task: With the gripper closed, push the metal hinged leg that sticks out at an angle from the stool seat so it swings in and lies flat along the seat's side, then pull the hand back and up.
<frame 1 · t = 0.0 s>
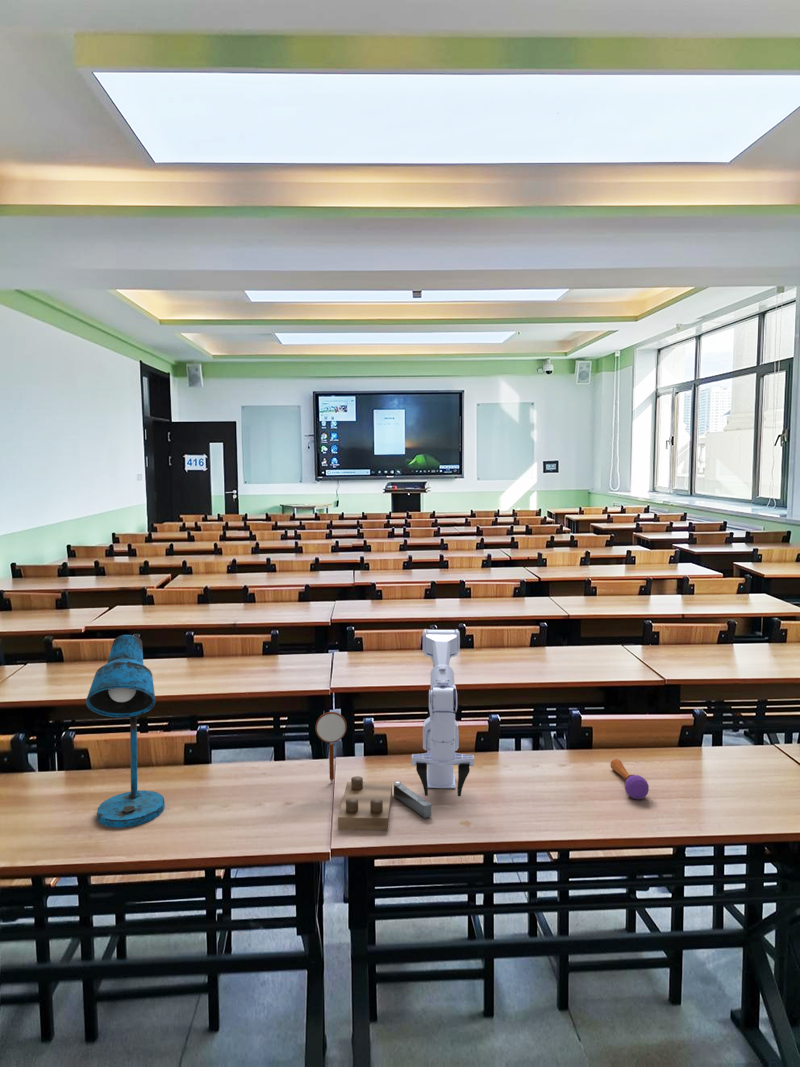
hand: (442, 794, 163), 10 cm above the table, tool pointing down, fingers open, 7 cm apart
stool seat: (366, 810, 176), on the table
purple mallet: (627, 786, 190), on the table
hinged leg: (411, 798, 178), point 2 cm above the table, hinge at 35.0°
desk lamp: (130, 816, 174), on the table
magnifying glass: (331, 783, 192), on the table
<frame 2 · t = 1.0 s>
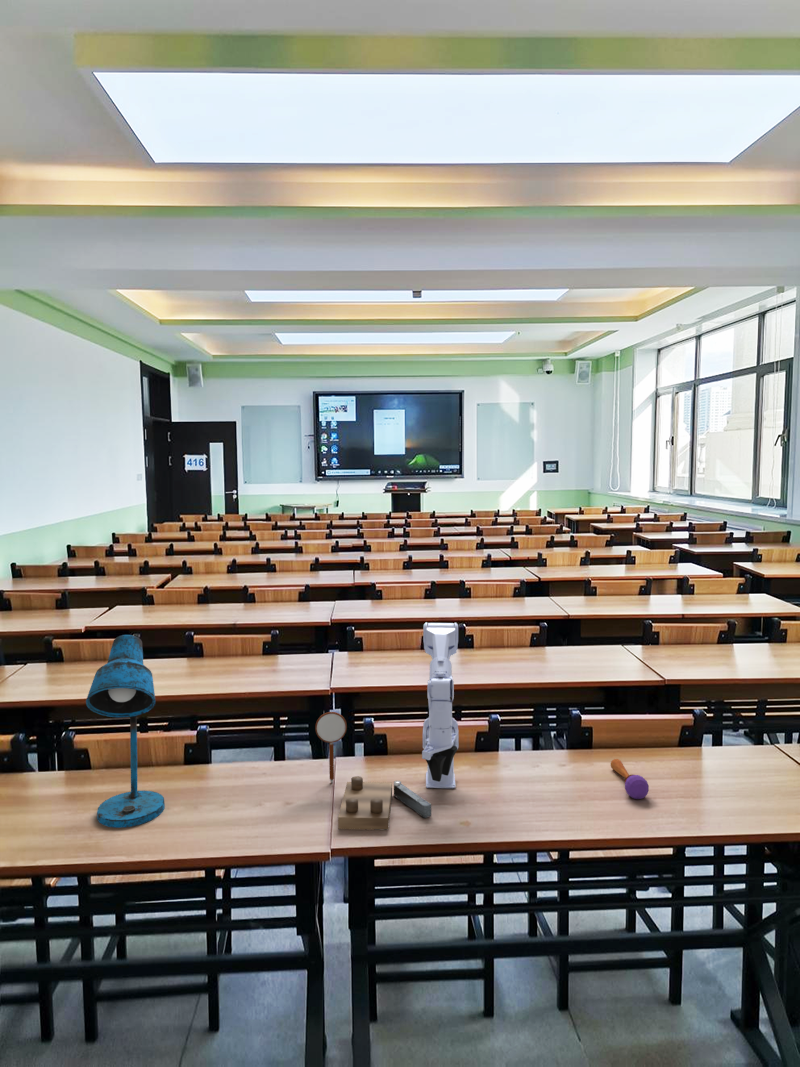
hand: (440, 777, 176), 8 cm above the table, tool pointing down, fingers open, 3 cm apart
nothing on the table moved.
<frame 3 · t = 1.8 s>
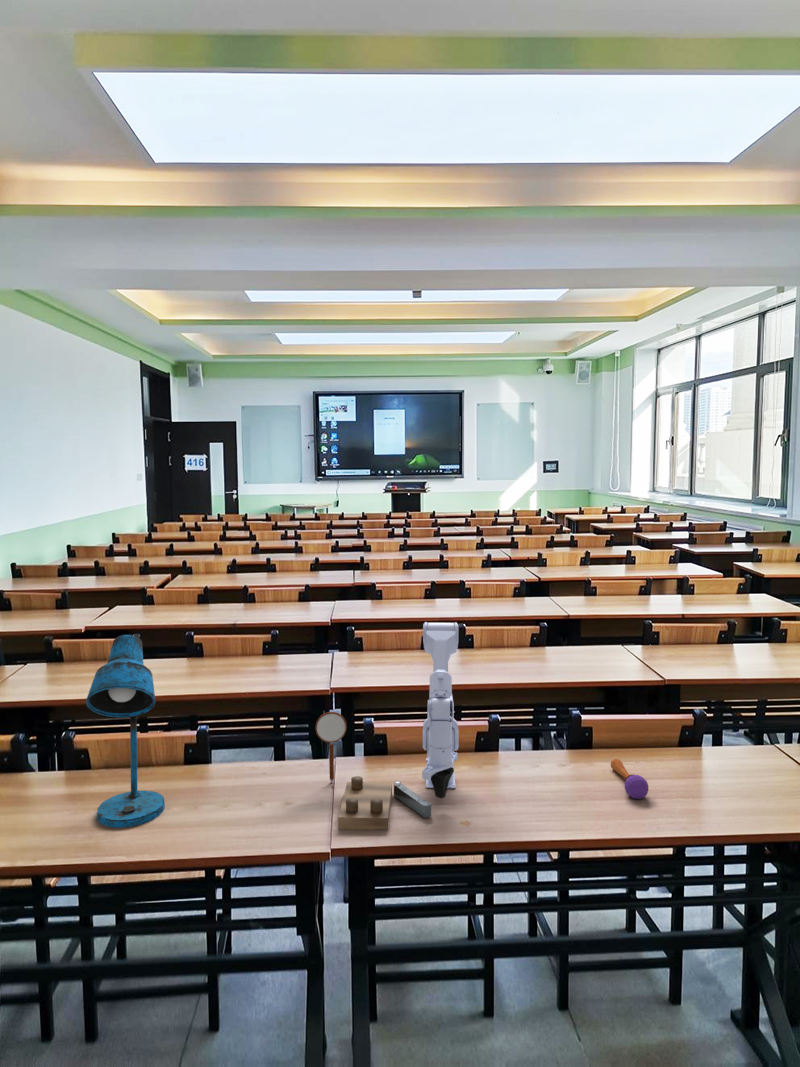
hand: (440, 796, 176), 3 cm above the table, tool pointing down, fingers closed
nothing on the table moved.
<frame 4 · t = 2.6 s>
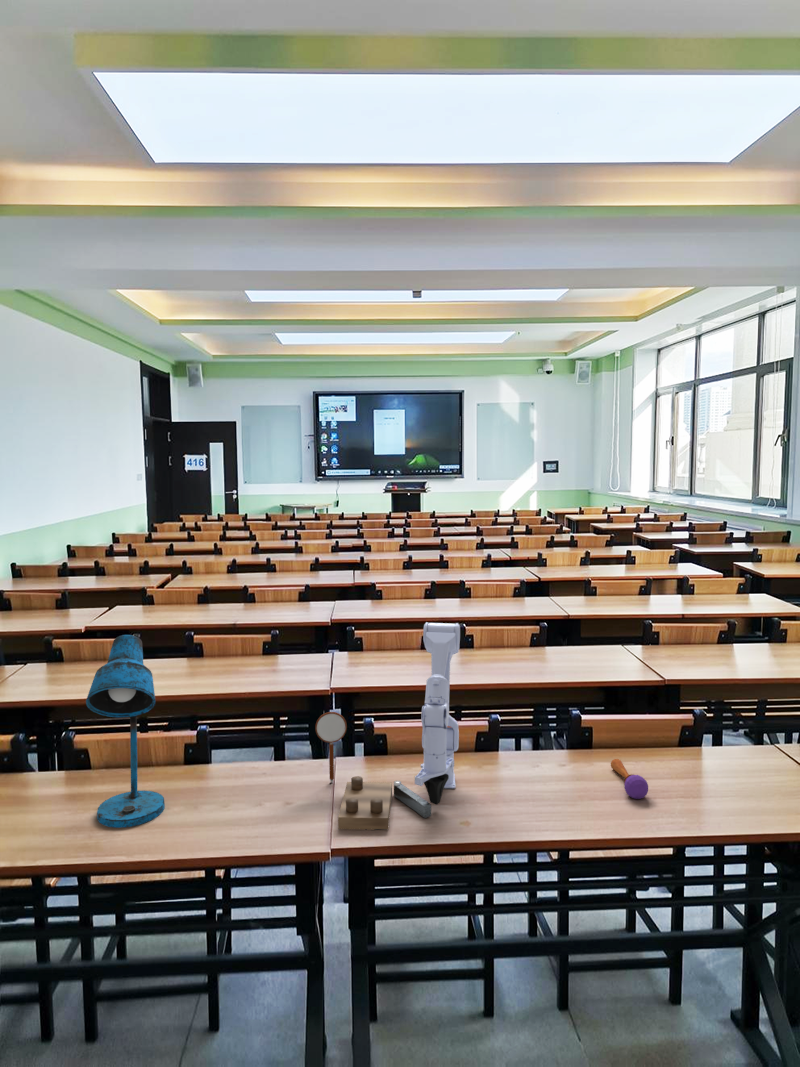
hand: (435, 802, 176), 2 cm above the table, tool pointing down, fingers closed
nothing on the table moved.
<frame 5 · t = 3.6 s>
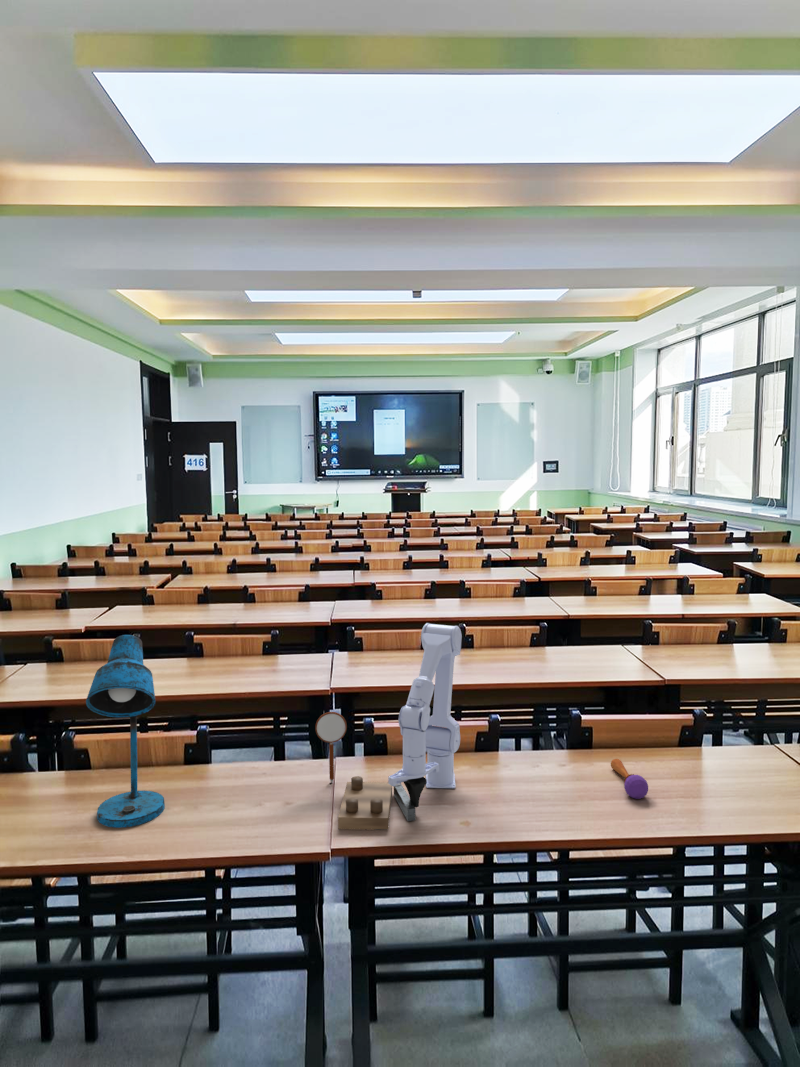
hand: (414, 805, 175), 2 cm above the table, tool pointing down, fingers closed, pressing on hinged leg
hinged leg: (403, 799, 178), point 2 cm above the table, hinge at 16.7°, touching gripper
everything else where it was.
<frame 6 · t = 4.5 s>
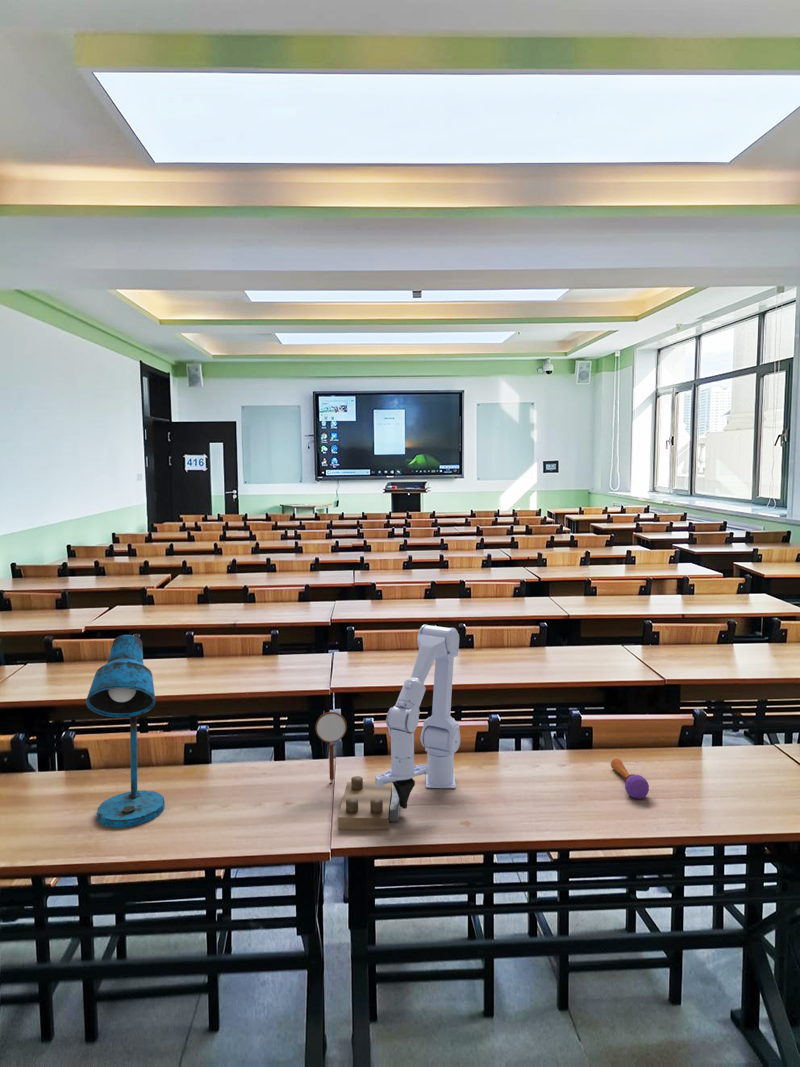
hand: (402, 807, 174), 2 cm above the table, tool pointing down, fingers closed, pressing on hinged leg
hinged leg: (395, 800, 177), point 2 cm above the table, hinge at -1.0°, touching gripper
everything else where it was.
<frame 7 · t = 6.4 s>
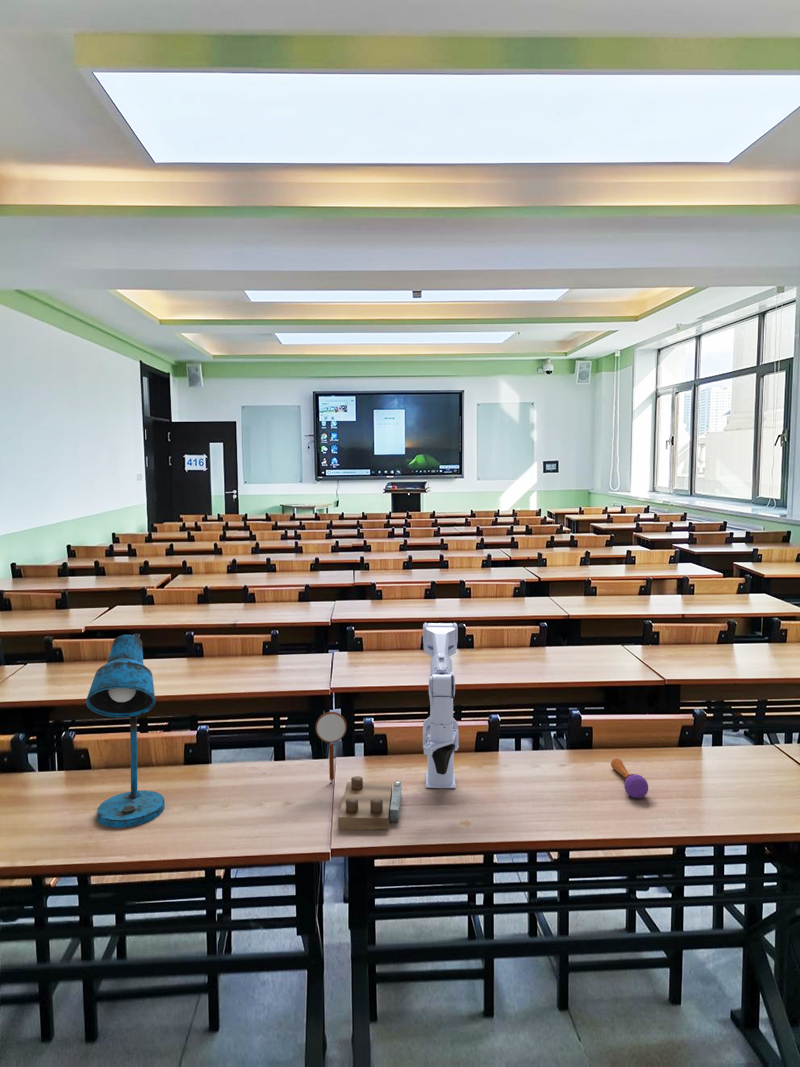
hand: (441, 773, 176), 9 cm above the table, tool pointing down, fingers closed
hinged leg: (396, 800, 177), point 2 cm above the table, hinge at -0.9°
everything else where it was.
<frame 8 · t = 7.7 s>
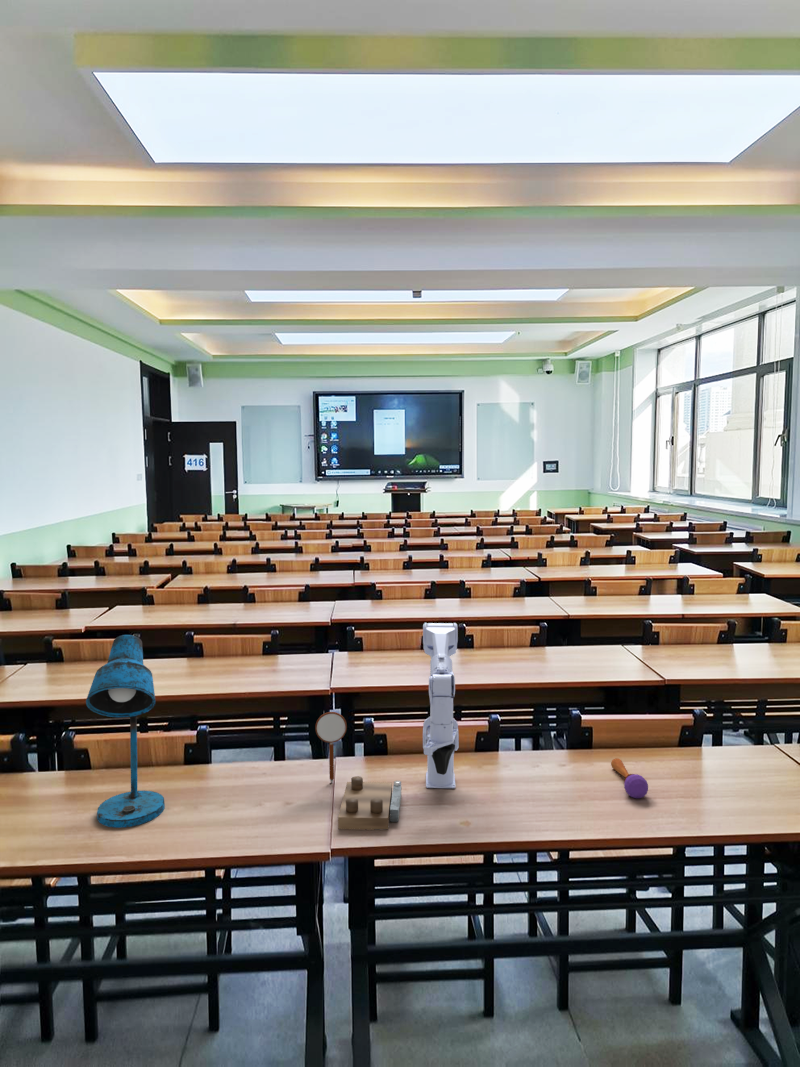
hand: (441, 773, 176), 9 cm above the table, tool pointing down, fingers closed
nothing on the table moved.
at the end: hinged leg at -1° (first picture: +35°); the gripper is holding nothing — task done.
